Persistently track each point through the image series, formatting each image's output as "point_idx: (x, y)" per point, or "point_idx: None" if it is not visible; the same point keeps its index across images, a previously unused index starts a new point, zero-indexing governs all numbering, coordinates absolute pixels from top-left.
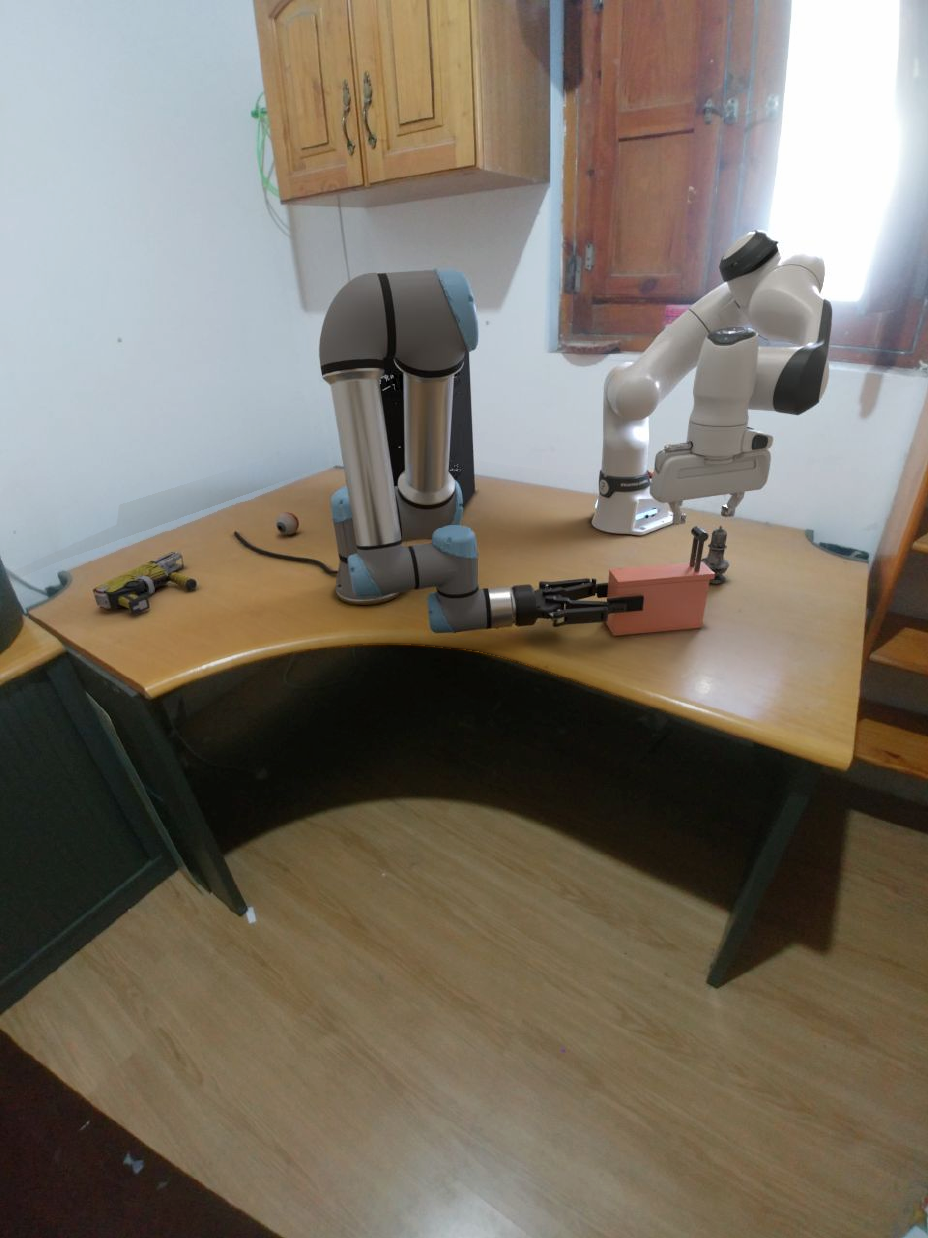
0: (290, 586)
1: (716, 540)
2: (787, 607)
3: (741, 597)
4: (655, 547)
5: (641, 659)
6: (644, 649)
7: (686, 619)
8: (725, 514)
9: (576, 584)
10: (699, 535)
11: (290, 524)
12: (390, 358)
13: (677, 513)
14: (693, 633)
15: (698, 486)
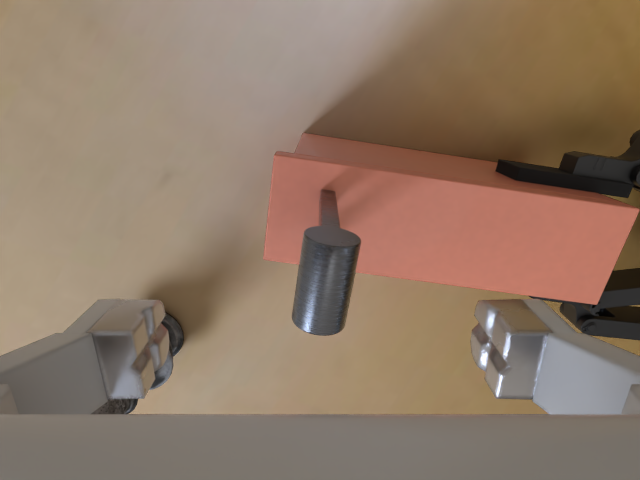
0: None
1: (112, 406)
2: (36, 154)
3: (127, 235)
4: None
5: (532, 39)
6: (496, 82)
7: (348, 142)
8: (157, 319)
9: (623, 317)
10: (358, 243)
11: None
12: None
13: (606, 344)
14: (337, 114)
15: None
